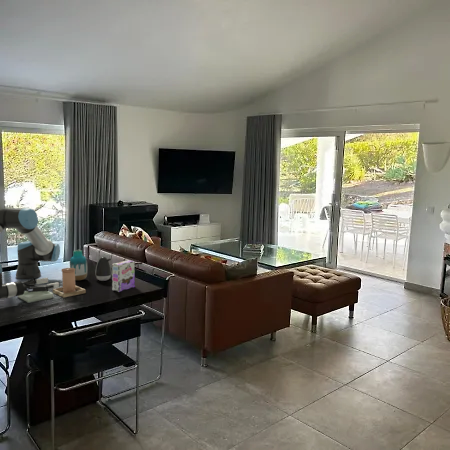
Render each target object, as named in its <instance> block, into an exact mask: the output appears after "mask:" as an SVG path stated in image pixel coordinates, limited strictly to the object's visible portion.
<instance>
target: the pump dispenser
mask: <svg viewBox="0 0 450 450" xmlns="http://www.w3.org/2000/svg"><path fill="white" fill-rule="evenodd" d="M111 260H112V259H111V258H107V257H106V256H100V257H99V259H98V260H97V264H96V265H95V266H96V267H95V277H96V279H97V280H99V281H101V282H104V281H108V280H110V279H111V278H112V265H111V264H110V261H111Z"/></svg>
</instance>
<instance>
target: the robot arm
mask: <svg viewBox="0 0 450 450" xmlns="http://www.w3.org/2000/svg"><path fill="white" fill-rule="evenodd" d="M38 223H39V217H38V213H37V212H36V211H35V210H34V209H32V208H27V207H24V208H21V207H18V208H17V207H3V208H1V209H0V234H2V233H3V231H4V230H5V229H16V230H17V232H18V233H20V234H21V235H22V234H23V235H24V236H25V237H26V238H27V239H28V240H26V241H23V242H19V243H18V244H17V262H18V263H17V264H18V265H17V268H16V271H15V279H19V280H25V281H15V282H7V283H3V267H2V263H0V300H3V299H4V300H5V299H11V298H13V297H18V296H20V295H23V294H24V292H25V291H28V292H38V291H49V290H51V289H52V290H53V289H56V288H60V283H59V282H53V283H49V277H42V278H40V277H41V276H42V272H41V269H40V267H39V264H38V263H39V262H50V263H51V262H57V261H58V260H59V258H60V253H61V247H60V244H58V243H53V241H51V240H50V239H49V238H46V236H45V235H44V234H43V232H42V230H41V229H40V228H39V227H38ZM36 278H37V279H36ZM46 283H47V284H46Z"/></svg>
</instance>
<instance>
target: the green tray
mask: <svg viewBox="0 0 450 450" xmlns="http://www.w3.org/2000/svg"><path fill="white" fill-rule="evenodd" d="M17 298H19V299H20V300H22V301H24V302H26V303H27V304H28V303H33V302H39V301H40V302H41V301H44V300H49V299H53V298H54V293H53V292H51V291H49V290H48V291H38V292H28V291H25V292H24V294H23V295H20V296H17Z"/></svg>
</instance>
